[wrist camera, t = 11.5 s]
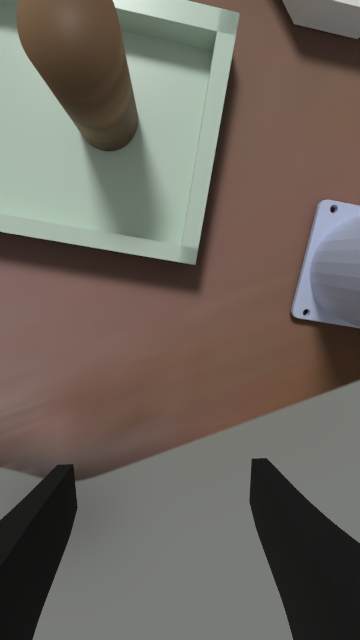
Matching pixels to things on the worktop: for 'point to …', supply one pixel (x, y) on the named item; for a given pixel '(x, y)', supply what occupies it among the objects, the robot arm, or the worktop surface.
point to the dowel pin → (82, 65)
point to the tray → (136, 157)
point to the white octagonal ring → (327, 15)
